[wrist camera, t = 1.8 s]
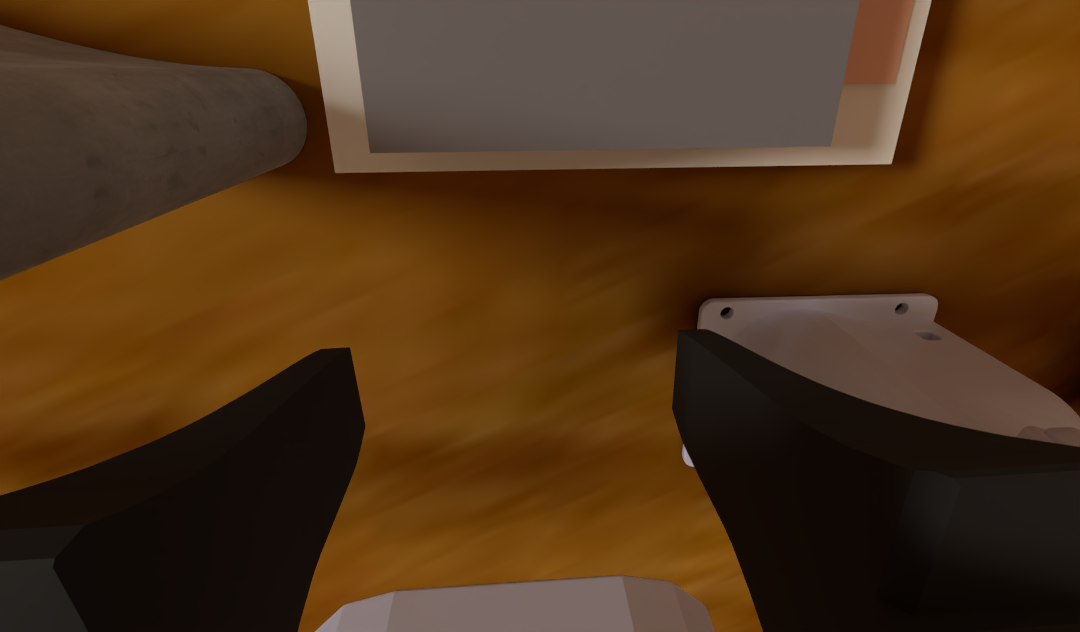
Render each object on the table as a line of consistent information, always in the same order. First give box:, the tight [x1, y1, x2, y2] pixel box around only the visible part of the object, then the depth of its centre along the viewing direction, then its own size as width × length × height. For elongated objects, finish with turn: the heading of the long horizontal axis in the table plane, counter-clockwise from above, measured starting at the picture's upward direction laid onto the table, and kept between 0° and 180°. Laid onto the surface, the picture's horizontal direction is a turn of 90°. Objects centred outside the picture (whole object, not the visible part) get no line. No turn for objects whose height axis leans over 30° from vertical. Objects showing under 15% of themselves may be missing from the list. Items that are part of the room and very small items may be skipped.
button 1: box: [350, 0, 860, 153], centre depth 13 cm, size 11×5×2 cm, turn 91°
